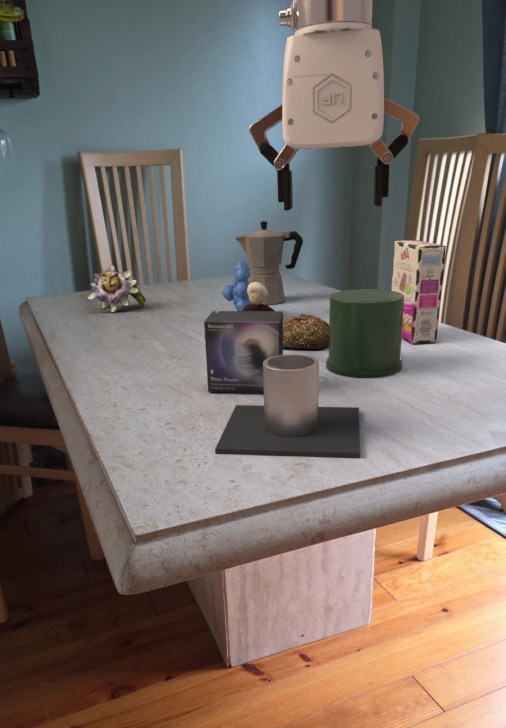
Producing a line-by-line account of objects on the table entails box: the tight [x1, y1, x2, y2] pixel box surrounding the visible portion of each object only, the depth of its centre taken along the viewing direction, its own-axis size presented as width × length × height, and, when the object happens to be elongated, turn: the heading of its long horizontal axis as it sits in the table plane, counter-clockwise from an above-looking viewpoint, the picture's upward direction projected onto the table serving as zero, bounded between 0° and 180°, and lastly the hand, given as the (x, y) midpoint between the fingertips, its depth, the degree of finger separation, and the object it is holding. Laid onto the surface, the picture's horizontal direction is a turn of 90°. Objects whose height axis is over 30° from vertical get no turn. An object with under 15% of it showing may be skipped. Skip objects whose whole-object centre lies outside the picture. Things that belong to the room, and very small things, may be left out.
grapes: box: [221, 260, 251, 311], centre depth 127 cm, size 12×7×12 cm, turn 1°
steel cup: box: [263, 353, 320, 437], centre depth 73 cm, size 6×6×8 cm
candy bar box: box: [391, 239, 447, 345], centre depth 110 cm, size 11×5×16 cm, turn 10°
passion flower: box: [86, 264, 147, 313], centre depth 144 cm, size 11×11×12 cm
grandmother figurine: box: [242, 282, 276, 311], centre depth 100 cm, size 8×4×13 cm, turn 92°
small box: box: [203, 310, 284, 394], centre depth 88 cm, size 11×6×10 cm, turn 82°
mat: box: [214, 404, 361, 459], centre depth 75 cm, size 16×14×1 cm
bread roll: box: [283, 313, 329, 350], centre depth 112 cm, size 13×12×5 cm
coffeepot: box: [235, 220, 304, 306], centre depth 144 cm, size 15×9×18 cm, turn 87°
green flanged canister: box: [325, 288, 404, 379], centre depth 95 cm, size 12×12×11 cm
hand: (332, 207), depth 67 cm, fingers open, 9 cm apart
